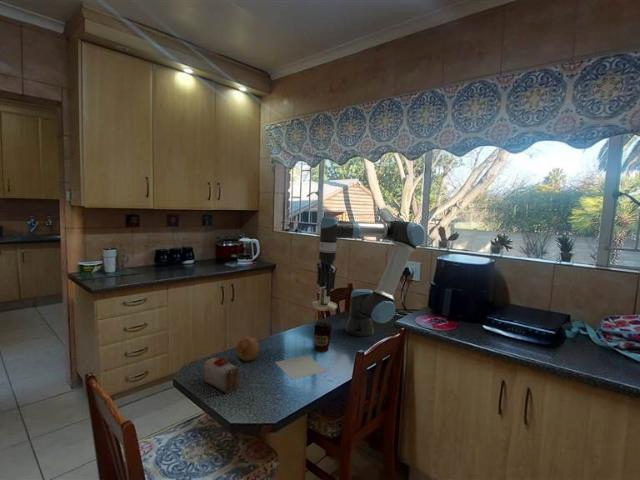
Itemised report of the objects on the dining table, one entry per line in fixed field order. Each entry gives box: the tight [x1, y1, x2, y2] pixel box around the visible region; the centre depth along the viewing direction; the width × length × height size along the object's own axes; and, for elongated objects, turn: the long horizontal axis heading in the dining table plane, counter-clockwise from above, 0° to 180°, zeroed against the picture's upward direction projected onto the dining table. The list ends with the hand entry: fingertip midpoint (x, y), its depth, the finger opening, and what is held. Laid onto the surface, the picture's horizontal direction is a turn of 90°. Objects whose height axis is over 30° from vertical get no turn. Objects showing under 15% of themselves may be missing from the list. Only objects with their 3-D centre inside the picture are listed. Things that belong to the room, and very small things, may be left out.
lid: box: [310, 288, 338, 312], centre depth 159 cm, size 12×12×8 cm
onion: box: [236, 335, 261, 362], centre depth 148 cm, size 10×10×10 cm
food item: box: [203, 357, 240, 394], centre depth 127 cm, size 14×8×10 cm, turn 55°
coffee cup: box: [313, 321, 333, 353], centre depth 161 cm, size 9×8×13 cm
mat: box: [274, 355, 327, 381], centre depth 143 cm, size 16×16×1 cm
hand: (324, 301), depth 159 cm, fingers closed on lid, 3 cm apart
